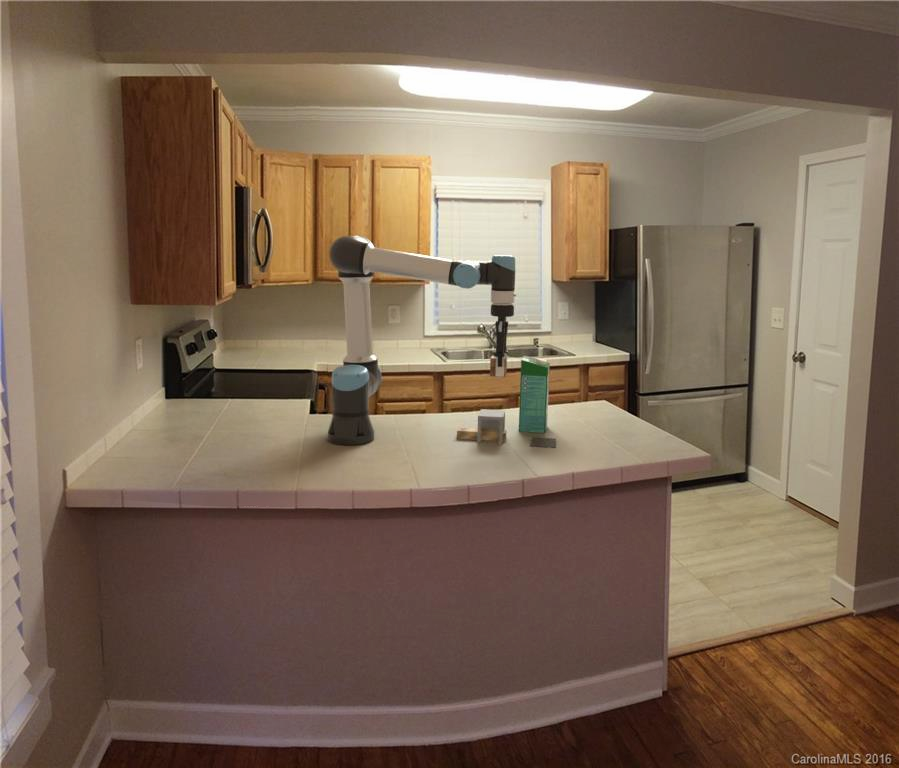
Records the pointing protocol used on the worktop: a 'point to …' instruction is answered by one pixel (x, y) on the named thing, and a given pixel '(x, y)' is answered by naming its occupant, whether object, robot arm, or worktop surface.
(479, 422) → the tunnel
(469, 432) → the tan long bar
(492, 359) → the block
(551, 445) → the mat
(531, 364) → the milk carton
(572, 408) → the worktop surface
